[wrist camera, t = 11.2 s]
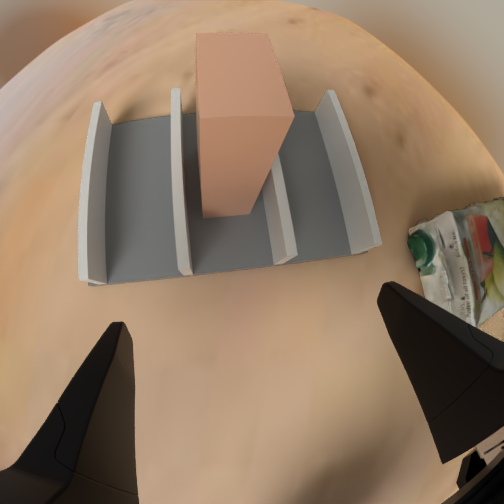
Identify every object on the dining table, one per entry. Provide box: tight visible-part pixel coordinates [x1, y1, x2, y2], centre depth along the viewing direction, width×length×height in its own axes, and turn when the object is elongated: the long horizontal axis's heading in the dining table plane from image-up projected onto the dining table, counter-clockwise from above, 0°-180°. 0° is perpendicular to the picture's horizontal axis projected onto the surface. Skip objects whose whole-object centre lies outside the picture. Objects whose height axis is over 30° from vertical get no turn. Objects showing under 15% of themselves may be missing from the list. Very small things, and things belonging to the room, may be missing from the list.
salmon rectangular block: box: [196, 33, 295, 219], centre depth 13 cm, size 5×3×10 cm, turn 8°
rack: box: [78, 88, 382, 286], centre depth 17 cm, size 12×19×4 cm, turn 98°
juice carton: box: [407, 197, 504, 328], centre depth 19 cm, size 20×10×6 cm, turn 105°
